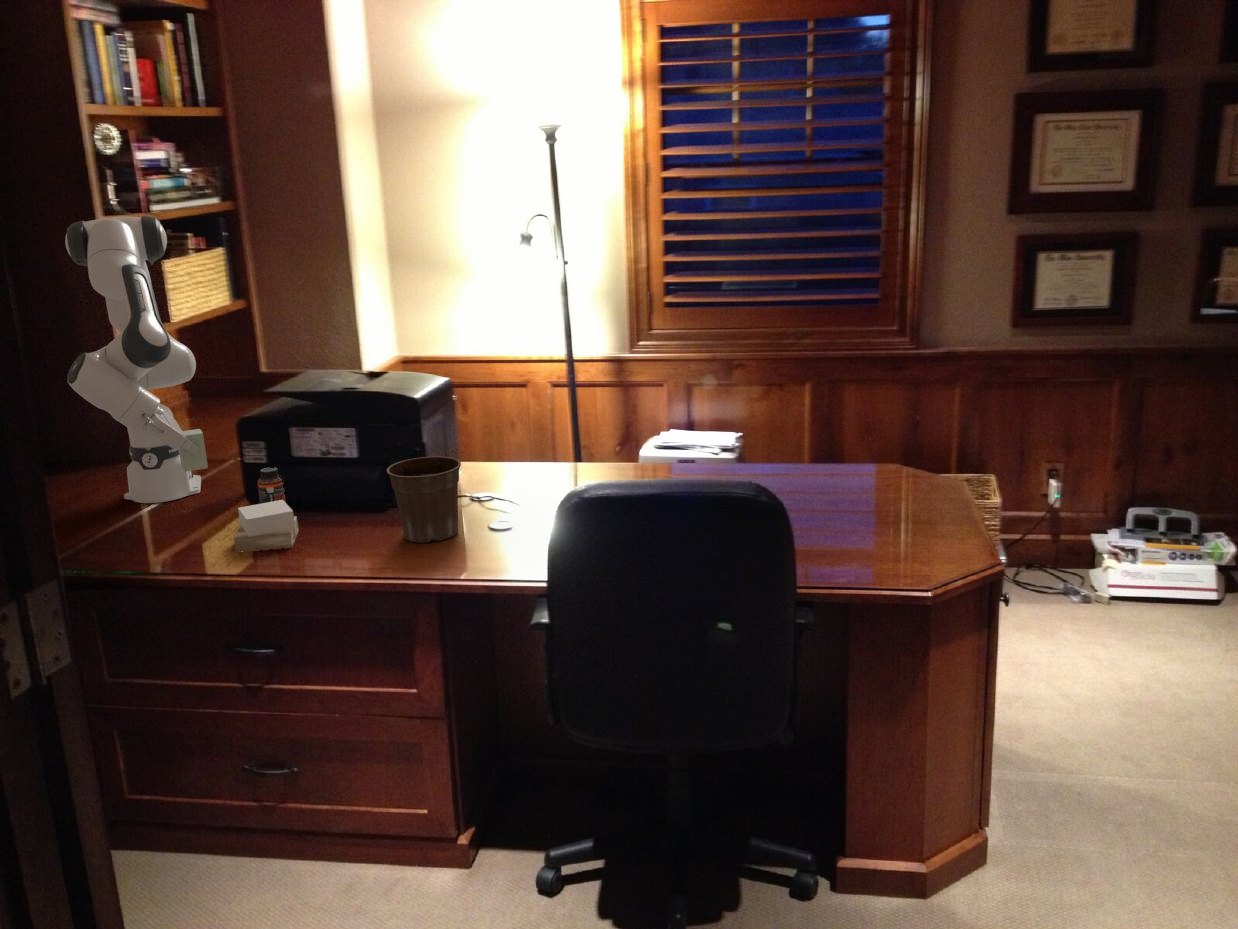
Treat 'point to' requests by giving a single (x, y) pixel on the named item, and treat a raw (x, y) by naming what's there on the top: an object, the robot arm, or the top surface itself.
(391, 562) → the top surface
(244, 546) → the maple base slab
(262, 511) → the white top slab
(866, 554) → the top surface
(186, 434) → the sage block
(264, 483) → the supplement bottle
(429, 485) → the plant pot
